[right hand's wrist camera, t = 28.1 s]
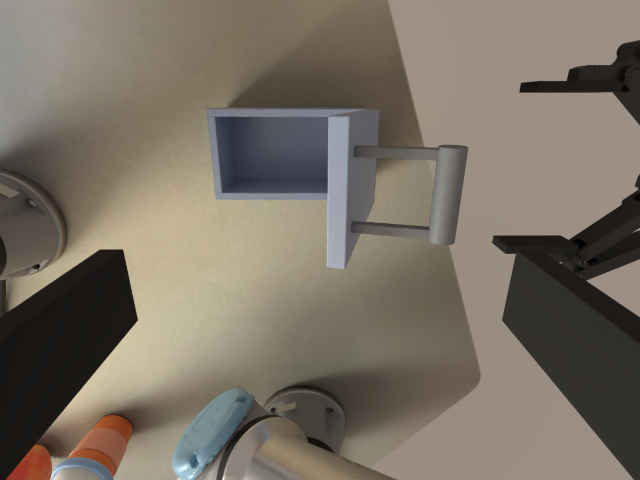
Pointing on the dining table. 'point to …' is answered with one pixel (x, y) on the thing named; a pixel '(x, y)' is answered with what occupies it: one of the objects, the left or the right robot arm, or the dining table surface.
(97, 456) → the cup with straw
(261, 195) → the chest
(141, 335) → the dining table surface
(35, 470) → the apple
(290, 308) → the dining table surface
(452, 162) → the lid
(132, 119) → the dining table surface
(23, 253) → the right robot arm
